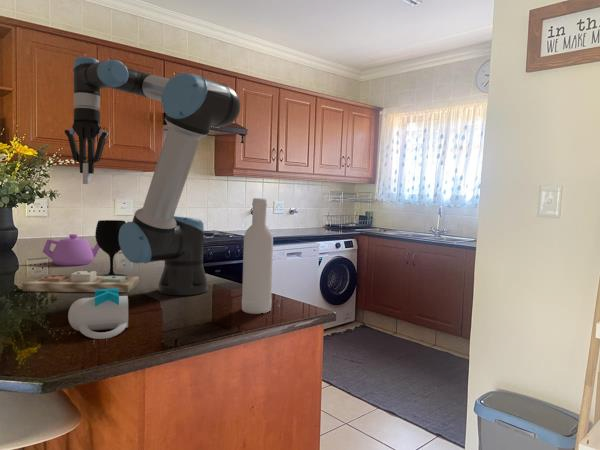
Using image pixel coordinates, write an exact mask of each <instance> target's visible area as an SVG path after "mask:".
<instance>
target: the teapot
mask: <svg viewBox="0 0 600 450" xmlns="http://www.w3.org/2000/svg"><path fill="white" fill-rule="evenodd" d="M68 236H69V237H66V238H60V239H59V240H55V239H51V238H48V239H46V241H45V245H44V246H43V247H44V248H43V250H42V253H44V254H45V255H46V256H47V257H48V258H50V259H51V262H52V263H54V264H55V265H56V266H63V267H74V266H75V267H76V266H86V265H90V264H91V263H92V262H93V260H94V259H95V258H96V256H97V254H98V251H99V249H101V248H100V247H99V246H98V244H97V243H95V245H94V247H92V246H91V244H90V243H89V241H88V240H87V239H86V238H82V237H78V233H77V234H76V233H72V234H68ZM52 244H54V245H55V247H54V248H53V251H52V250H51V246H52Z"/></svg>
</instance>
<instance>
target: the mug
mask: <svg viewBox="0 0 600 450" xmlns="http://www.w3.org/2000/svg"><path fill="white" fill-rule="evenodd" d="M119 293H120V292H119V288H115V289H98V290H95V292H94V297H83V298H78V299H76V300H75V301H74V302H72V304H71V305H70V307H69V309H68V314H67V318H68V323H69V325H70V326H71V327H72V329H74V330H76V331H77V332H80V333H81V334H82V335H84V336H85V337H88V338H89V339H90V338H91V339H95V340H105V339H110V338H113V337H116V336H118V335H119V334H121V333H122V332H123V331H125V330H126V329H127V328H128V327H129V298H128V297H129V296H128V295H120V294H119ZM104 330H105V332H103V331H104ZM106 330H109V331H106ZM98 331H102V332H98Z"/></svg>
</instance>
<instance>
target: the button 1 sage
mask: <svg viewBox="0 0 600 450" xmlns="http://www.w3.org/2000/svg"><path fill="white" fill-rule="evenodd" d="M126 276H127V275H126ZM126 276H106V277H105V278H103V279H102V282H124V281H125V280H126Z"/></svg>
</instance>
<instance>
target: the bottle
mask: <svg viewBox="0 0 600 450" xmlns="http://www.w3.org/2000/svg"><path fill="white" fill-rule="evenodd" d="M251 206H252V214H251V215H252V217H251V218H252V219H251V220H252V221H251V223H252V224H251V225H250V226H249V227H248V228H247V229H246V231H245V233H244V236H243V253H242V254H243V255H242V292H241V293H242V296H241V310H242V312H244V313H247V314H253V315H256V314H257V315H259V314H260V315H262V314H261V313H263V314H266V313H267V312H268V313H269V311H270V312H271V310H272V305H273V304H272V288H273V287H272V286H273V260H274V259H273V256H274V254H273V253H274V237H273V233H272V230H271V229H270V227H268V226H267V206H268V202H267V199H266V198H262V197H261V198H257V197H256V198H255V197H254V198H253V199H252V204H251ZM268 313H267V314H268Z"/></svg>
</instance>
